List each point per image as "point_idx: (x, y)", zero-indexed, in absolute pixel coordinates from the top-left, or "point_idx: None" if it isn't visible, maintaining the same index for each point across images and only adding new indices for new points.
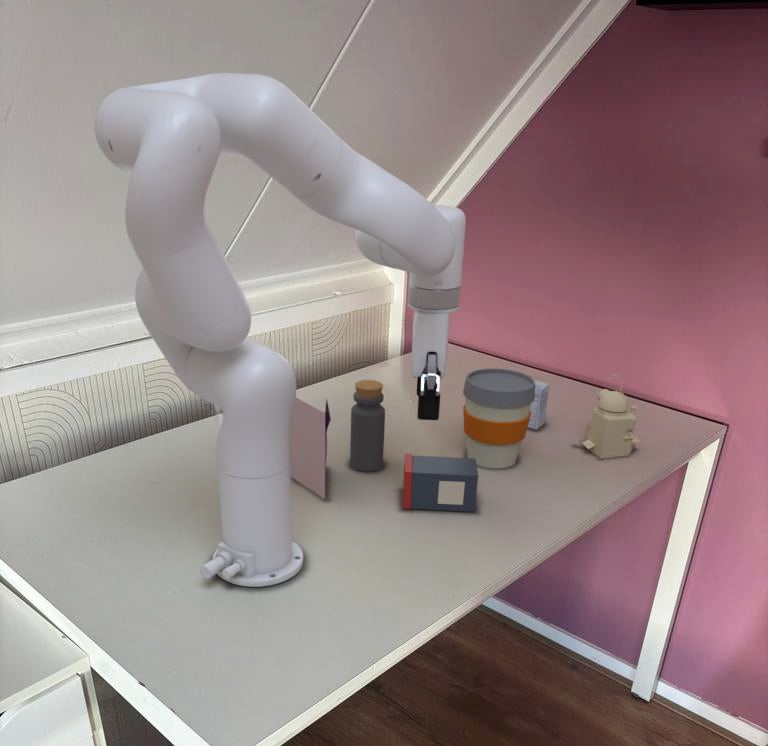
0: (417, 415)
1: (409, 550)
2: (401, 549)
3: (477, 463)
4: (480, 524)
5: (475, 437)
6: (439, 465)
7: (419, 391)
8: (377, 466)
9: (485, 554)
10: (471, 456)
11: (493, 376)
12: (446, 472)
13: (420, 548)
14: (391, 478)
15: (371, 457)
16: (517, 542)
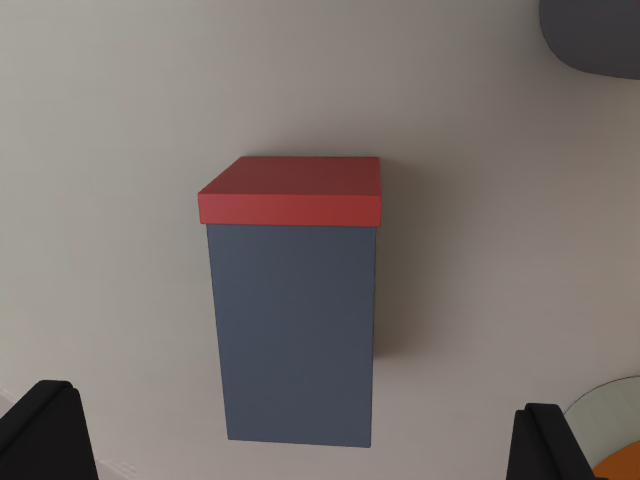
0: (49, 387)
1: (13, 175)
2: (11, 153)
3: (583, 401)
4: (198, 363)
5: (617, 462)
6: (289, 326)
7: (525, 443)
8: (558, 52)
9: (54, 357)
10: (615, 395)
11: None
12: (230, 345)
13: (33, 205)
14: (478, 112)
15: (560, 22)
16: (129, 430)
